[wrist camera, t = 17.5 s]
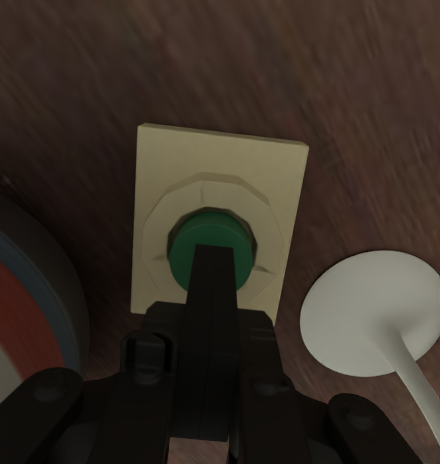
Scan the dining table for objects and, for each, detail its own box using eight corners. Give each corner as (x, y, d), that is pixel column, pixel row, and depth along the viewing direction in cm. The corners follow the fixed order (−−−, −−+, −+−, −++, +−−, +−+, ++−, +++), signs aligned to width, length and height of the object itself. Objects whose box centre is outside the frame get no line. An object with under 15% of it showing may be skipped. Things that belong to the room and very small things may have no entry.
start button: (244, 284, 19) (246, 303, 17) (171, 277, 19) (166, 295, 17) (255, 215, 18) (258, 228, 16) (176, 206, 17) (172, 218, 16)
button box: (270, 311, 23) (278, 348, 20) (136, 297, 23) (122, 332, 19) (302, 141, 19) (319, 152, 16) (144, 122, 19) (128, 129, 16)
